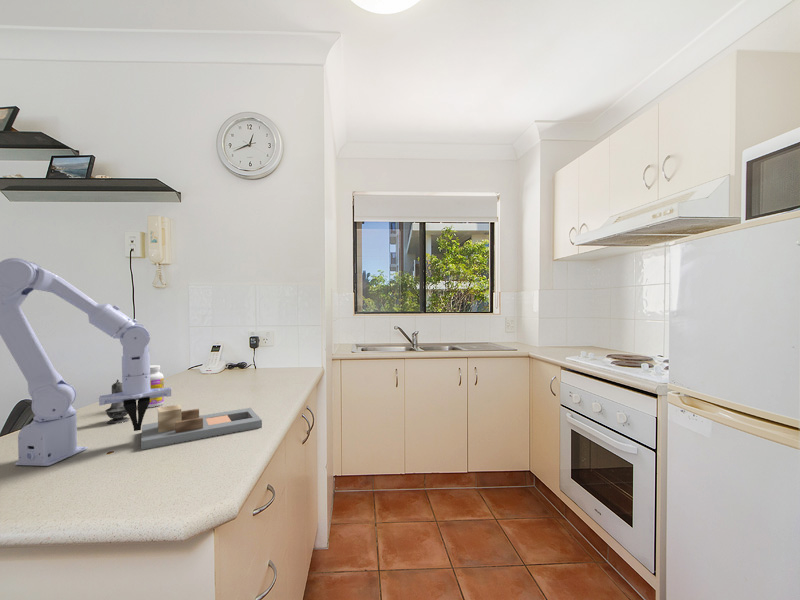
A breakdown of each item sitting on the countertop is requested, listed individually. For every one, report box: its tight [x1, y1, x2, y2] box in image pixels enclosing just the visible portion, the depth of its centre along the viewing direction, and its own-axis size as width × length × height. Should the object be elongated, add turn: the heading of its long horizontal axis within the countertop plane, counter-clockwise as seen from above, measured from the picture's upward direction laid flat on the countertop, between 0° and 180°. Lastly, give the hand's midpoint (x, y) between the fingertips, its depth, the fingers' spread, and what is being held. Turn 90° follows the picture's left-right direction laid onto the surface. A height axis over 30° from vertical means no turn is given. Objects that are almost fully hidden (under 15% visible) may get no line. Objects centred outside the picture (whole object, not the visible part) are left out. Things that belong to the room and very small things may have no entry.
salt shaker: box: [105, 379, 130, 425], centre depth 112 cm, size 6×6×12 cm
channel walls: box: [175, 408, 203, 433], centre depth 101 cm, size 6×10×2 cm, turn 33°
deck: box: [140, 407, 263, 451], centre depth 103 cm, size 27×14×2 cm, turn 123°
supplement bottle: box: [148, 364, 165, 408], centre depth 128 cm, size 7×7×13 cm
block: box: [157, 404, 182, 433], centre depth 99 cm, size 5×5×5 cm
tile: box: [206, 415, 231, 425], centre depth 105 cm, size 6×7×2 cm
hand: (137, 429), depth 96 cm, fingers closed
